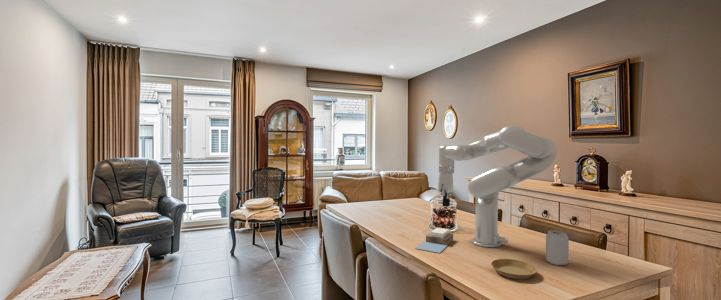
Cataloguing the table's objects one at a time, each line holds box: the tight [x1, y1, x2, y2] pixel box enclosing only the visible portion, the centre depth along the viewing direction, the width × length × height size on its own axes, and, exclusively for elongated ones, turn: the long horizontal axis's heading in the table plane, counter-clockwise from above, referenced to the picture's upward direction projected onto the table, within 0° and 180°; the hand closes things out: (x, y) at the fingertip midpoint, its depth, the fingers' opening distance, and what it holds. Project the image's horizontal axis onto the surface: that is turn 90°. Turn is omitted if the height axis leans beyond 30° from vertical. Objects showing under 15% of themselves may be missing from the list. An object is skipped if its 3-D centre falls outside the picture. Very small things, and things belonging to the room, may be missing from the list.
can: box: [545, 229, 570, 266], centre depth 122 cm, size 8×8×12 cm
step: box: [425, 232, 454, 245], centre depth 150 cm, size 10×10×3 cm
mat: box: [414, 241, 449, 254], centre depth 141 cm, size 11×11×1 cm
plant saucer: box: [490, 258, 538, 280], centre depth 113 cm, size 15×15×3 cm
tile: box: [430, 227, 450, 238], centre depth 151 cm, size 6×9×2 cm, turn 147°
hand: (446, 206), depth 159 cm, fingers closed
